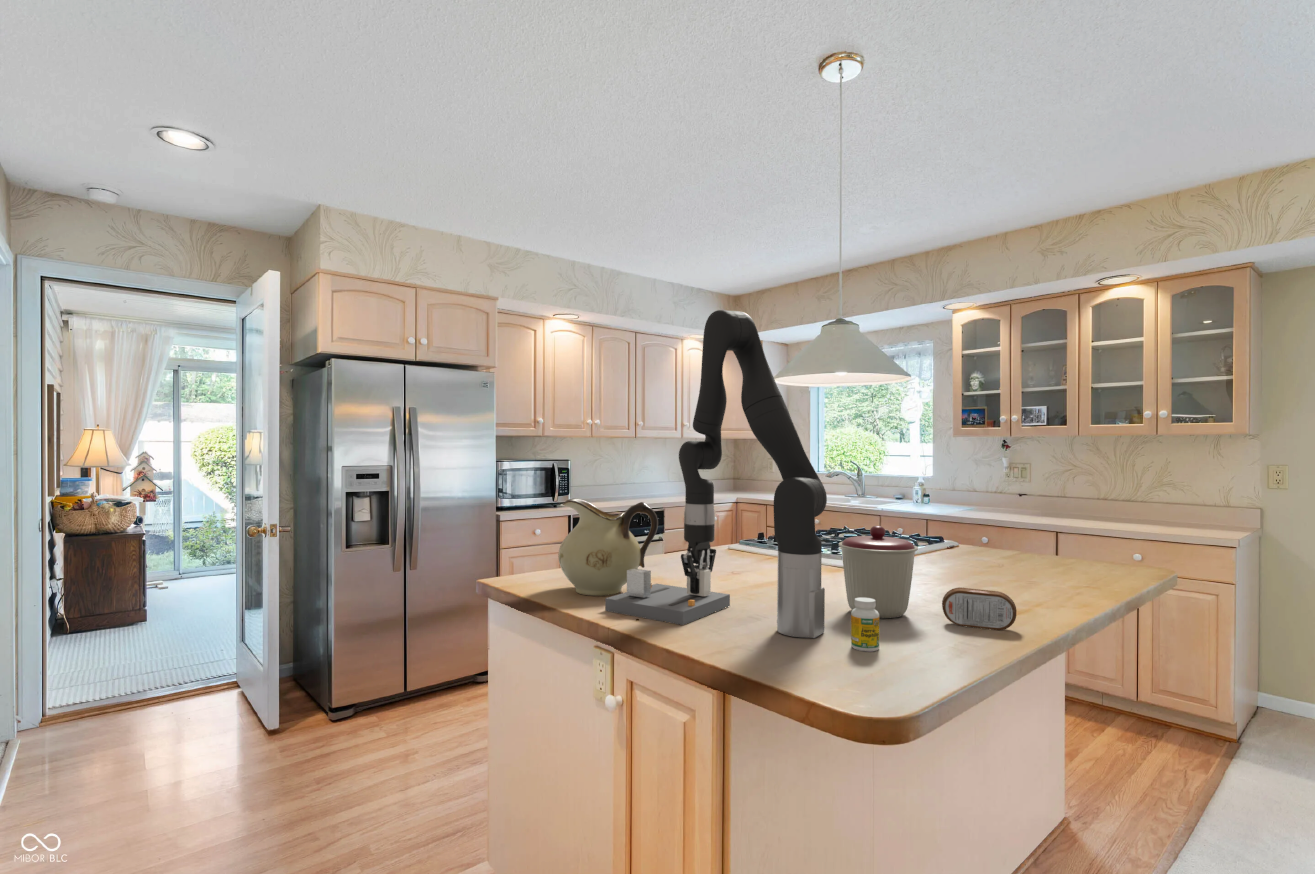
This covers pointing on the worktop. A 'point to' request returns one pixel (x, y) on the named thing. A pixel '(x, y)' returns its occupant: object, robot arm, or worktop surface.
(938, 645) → the worktop surface
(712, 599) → the grey slotted tray
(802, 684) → the worktop surface
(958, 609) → the tin
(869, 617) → the supplement bottle
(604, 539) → the pitcher
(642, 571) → the light grey block
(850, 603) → the canister
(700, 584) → the block
